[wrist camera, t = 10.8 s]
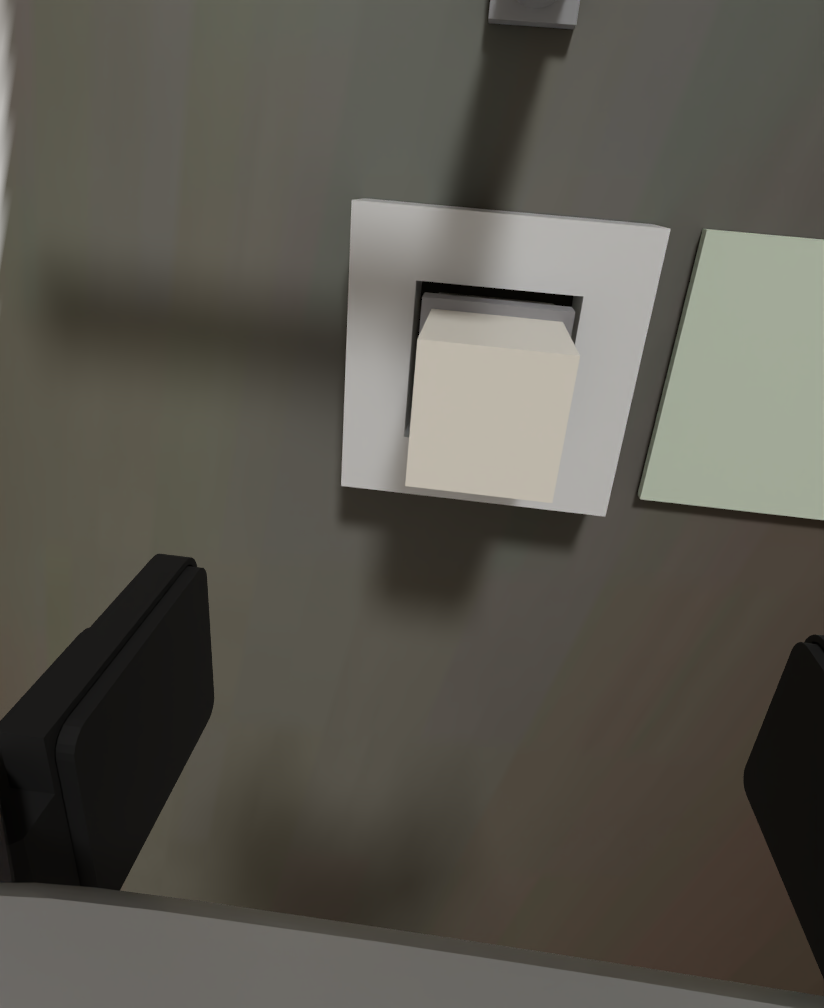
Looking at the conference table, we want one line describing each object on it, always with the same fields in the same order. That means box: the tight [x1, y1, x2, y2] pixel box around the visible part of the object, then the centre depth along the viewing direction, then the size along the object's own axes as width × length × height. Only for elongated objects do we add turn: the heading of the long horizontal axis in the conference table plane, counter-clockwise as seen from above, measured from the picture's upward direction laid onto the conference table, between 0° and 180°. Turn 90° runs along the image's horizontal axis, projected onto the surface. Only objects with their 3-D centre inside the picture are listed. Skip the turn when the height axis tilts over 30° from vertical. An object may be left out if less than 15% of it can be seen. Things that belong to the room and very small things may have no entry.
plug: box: [405, 292, 580, 503], centre depth 26 cm, size 6×6×10 cm
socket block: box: [341, 0, 670, 516], centre depth 23 cm, size 12×22×12 cm, turn 175°
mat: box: [638, 229, 824, 520], centre depth 30 cm, size 12×12×1 cm
